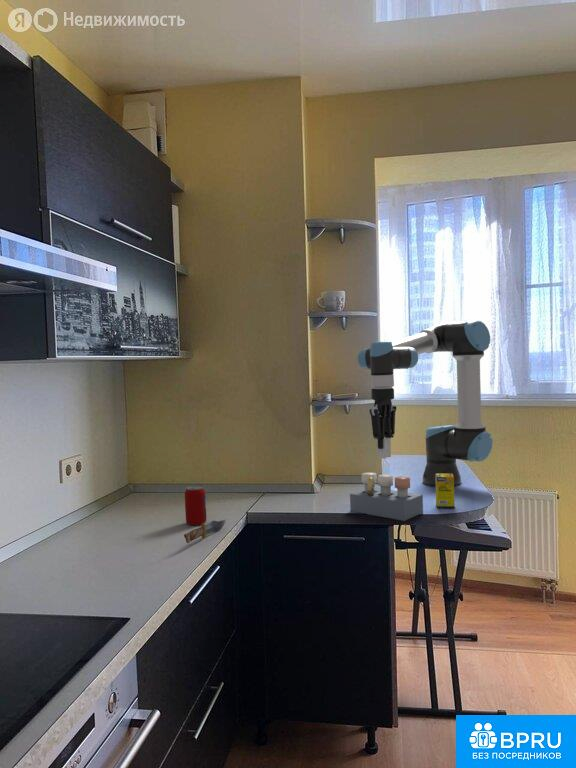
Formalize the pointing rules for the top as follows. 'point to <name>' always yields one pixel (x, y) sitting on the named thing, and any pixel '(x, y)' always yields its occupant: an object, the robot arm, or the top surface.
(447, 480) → the supplement box
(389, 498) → the mount
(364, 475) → the knob
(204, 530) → the knife
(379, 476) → the knob
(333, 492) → the top surface
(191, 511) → the beverage can
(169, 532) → the top surface
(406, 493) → the knob
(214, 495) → the top surface
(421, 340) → the robot arm
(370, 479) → the pot post
